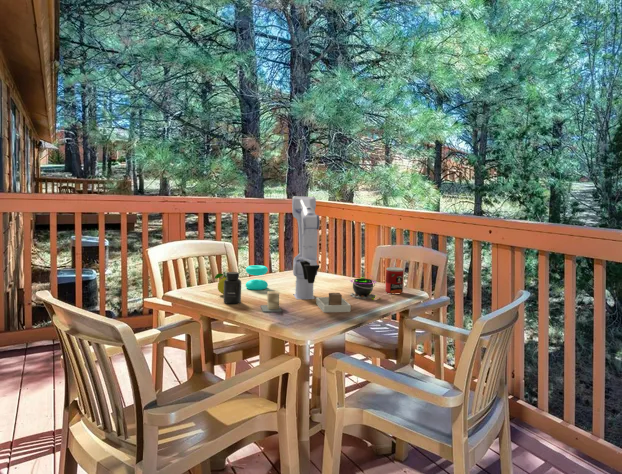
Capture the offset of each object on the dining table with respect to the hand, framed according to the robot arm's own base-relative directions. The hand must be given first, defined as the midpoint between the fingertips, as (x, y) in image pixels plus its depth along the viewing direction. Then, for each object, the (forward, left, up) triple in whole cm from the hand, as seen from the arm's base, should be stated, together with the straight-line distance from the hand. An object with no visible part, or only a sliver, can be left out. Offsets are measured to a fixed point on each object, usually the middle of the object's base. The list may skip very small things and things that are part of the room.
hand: (309, 281), depth 195 cm
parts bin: (+5, +9, -10) cm, 14 cm away
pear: (-23, -32, -10) cm, 41 cm away
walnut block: (+8, +9, -9) cm, 15 cm away
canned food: (-21, +43, -10) cm, 49 cm away
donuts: (-36, -17, -10) cm, 41 cm away
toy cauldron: (-13, +26, -10) cm, 31 cm away
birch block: (+3, -14, -10) cm, 17 cm away
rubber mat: (+3, -14, -10) cm, 17 cm away
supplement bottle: (-9, -29, -10) cm, 32 cm away
